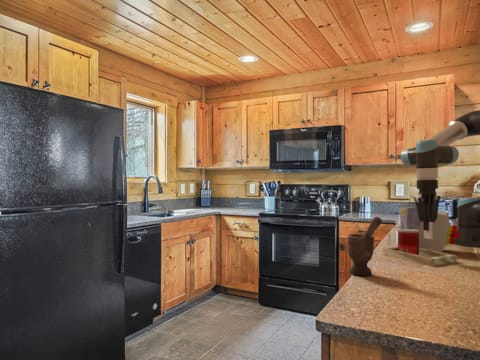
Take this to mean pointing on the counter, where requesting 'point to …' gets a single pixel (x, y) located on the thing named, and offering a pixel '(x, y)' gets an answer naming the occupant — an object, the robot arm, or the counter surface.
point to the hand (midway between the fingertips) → (428, 238)
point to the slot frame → (422, 256)
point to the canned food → (408, 241)
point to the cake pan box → (409, 218)
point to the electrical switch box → (439, 234)
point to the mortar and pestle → (362, 249)
